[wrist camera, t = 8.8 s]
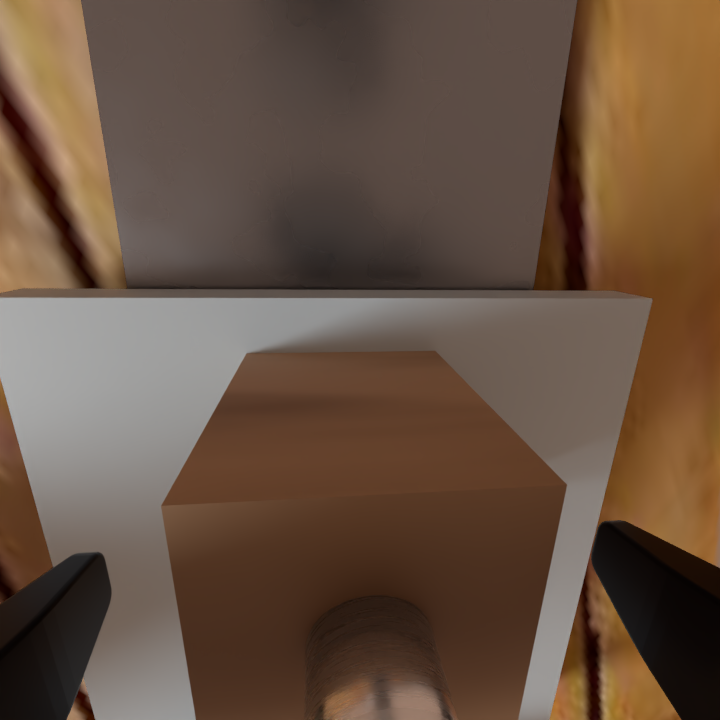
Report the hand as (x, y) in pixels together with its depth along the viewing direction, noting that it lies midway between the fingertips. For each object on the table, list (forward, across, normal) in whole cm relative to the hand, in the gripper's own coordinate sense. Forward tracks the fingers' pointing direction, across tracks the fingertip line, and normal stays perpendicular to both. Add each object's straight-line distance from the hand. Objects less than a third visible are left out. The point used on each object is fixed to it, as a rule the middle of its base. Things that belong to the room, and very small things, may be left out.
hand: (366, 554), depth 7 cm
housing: (+4, 0, 0) cm, 4 cm away
